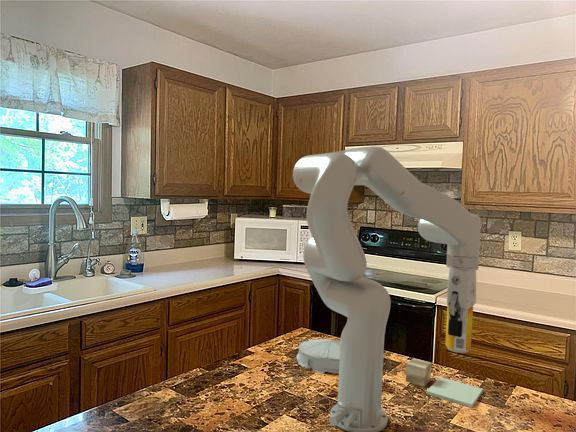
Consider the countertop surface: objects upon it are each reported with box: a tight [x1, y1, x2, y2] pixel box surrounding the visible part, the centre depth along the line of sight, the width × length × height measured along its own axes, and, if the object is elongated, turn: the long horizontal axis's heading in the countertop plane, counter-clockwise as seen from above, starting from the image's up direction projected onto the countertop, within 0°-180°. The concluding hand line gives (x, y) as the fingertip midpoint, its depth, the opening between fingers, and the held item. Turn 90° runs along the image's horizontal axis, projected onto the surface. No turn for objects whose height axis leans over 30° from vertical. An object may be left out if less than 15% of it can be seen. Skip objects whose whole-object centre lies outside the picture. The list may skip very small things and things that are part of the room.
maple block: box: [405, 357, 432, 387], centre depth 120 cm, size 5×5×5 cm
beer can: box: [444, 295, 474, 354], centre depth 112 cm, size 6×6×15 cm
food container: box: [296, 338, 340, 375], centre depth 132 cm, size 20×20×7 cm
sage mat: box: [425, 376, 484, 409], centre depth 113 cm, size 11×11×1 cm
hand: (458, 331), depth 112 cm, fingers closed on beer can, 6 cm apart
